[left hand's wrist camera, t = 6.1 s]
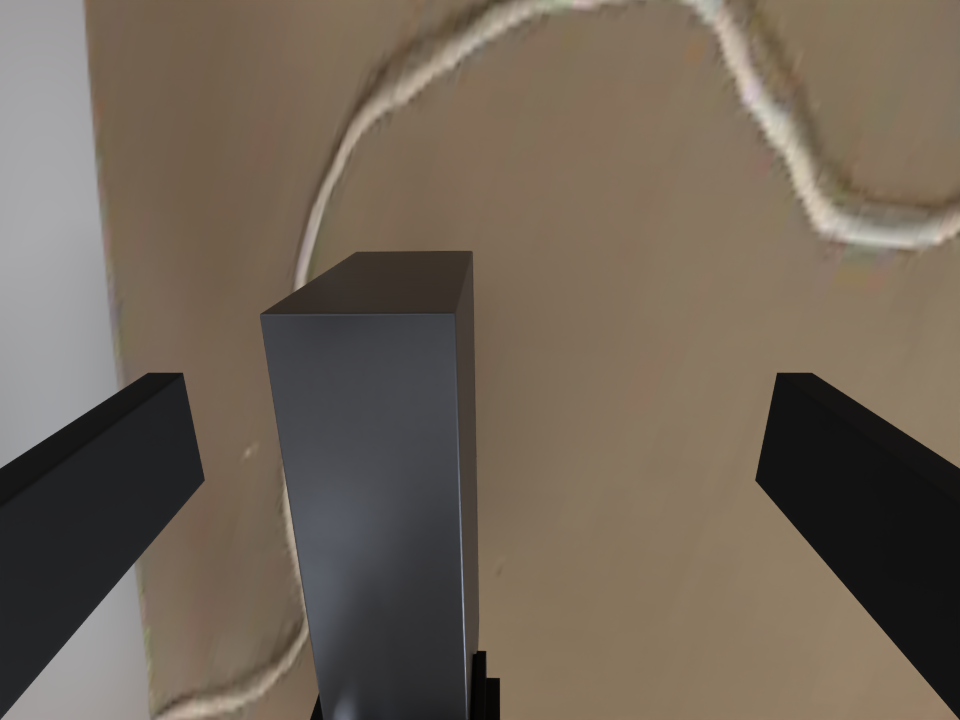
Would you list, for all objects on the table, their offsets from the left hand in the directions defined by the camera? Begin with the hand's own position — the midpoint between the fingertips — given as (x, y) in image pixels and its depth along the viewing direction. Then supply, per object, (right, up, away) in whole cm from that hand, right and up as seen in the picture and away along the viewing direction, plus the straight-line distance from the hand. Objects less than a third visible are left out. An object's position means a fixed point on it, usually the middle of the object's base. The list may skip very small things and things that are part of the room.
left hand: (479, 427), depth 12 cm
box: (-3, -4, +21) cm, 21 cm away
